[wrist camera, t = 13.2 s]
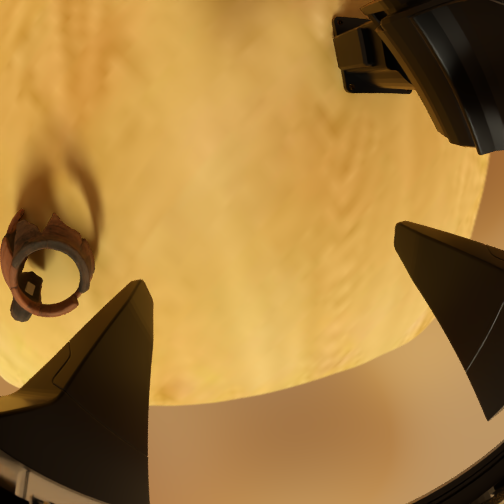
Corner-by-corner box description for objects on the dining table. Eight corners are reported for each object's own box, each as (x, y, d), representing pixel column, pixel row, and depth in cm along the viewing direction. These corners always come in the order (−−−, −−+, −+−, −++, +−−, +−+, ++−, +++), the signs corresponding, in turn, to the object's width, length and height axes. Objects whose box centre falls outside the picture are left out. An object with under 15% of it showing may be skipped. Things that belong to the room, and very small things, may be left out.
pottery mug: (25, 175, 18) (13, 210, 13) (103, 213, 25) (121, 255, 20) (-9, 279, 19) (-15, 336, 14) (61, 302, 26) (72, 356, 21)
